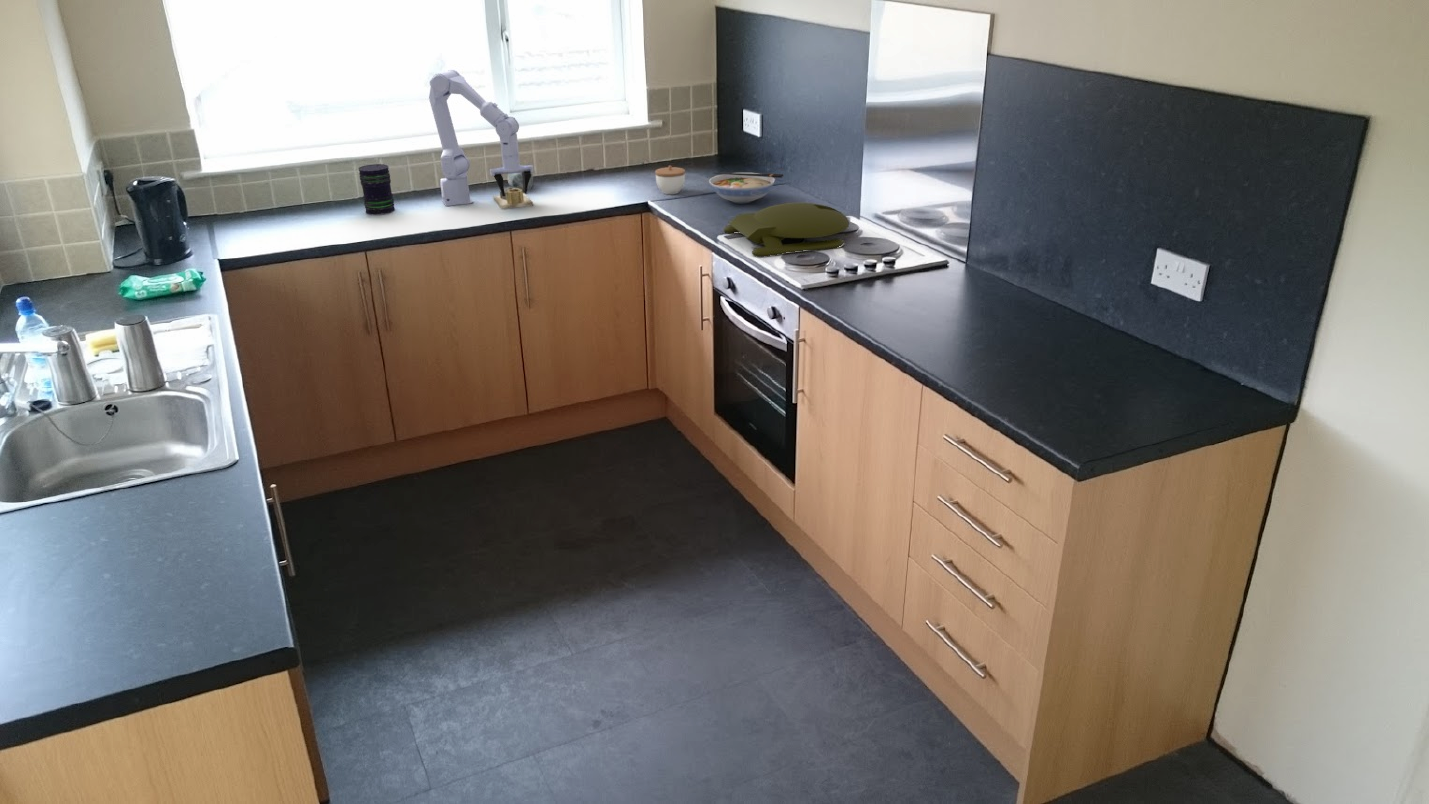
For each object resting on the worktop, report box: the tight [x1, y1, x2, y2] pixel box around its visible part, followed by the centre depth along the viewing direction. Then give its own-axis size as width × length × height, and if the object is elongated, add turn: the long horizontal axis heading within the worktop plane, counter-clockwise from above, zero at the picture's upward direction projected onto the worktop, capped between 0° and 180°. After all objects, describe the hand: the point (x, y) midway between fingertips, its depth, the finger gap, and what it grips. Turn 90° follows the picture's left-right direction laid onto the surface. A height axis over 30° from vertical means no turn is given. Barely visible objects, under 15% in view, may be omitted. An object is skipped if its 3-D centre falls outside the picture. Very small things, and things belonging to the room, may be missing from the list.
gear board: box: [492, 186, 534, 210], centre depth 359 cm, size 11×14×4 cm
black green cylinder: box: [358, 163, 396, 216], centre depth 350 cm, size 10×10×15 cm
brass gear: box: [506, 189, 524, 204], centre depth 355 cm, size 6×6×4 cm
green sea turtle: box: [723, 202, 850, 258], centre depth 313 cm, size 35×31×10 cm
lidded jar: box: [654, 165, 686, 195], centre depth 368 cm, size 11×11×9 cm
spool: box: [507, 164, 534, 192], centre depth 377 cm, size 14×10×10 cm
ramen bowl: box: [708, 172, 784, 205], centre depth 354 cm, size 25×23×8 cm
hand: (514, 194), depth 355 cm, fingers open, 7 cm apart
